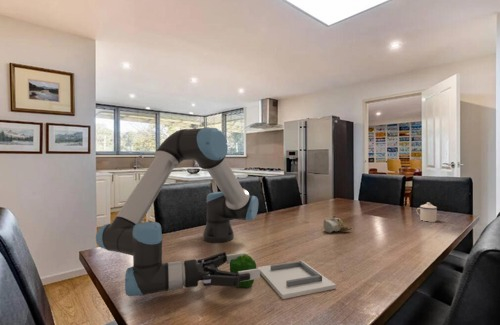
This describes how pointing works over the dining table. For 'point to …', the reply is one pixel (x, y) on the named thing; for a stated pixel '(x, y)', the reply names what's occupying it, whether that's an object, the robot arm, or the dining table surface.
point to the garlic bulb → (334, 225)
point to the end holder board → (295, 279)
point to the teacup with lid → (428, 212)
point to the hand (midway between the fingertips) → (251, 264)
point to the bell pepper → (243, 267)
